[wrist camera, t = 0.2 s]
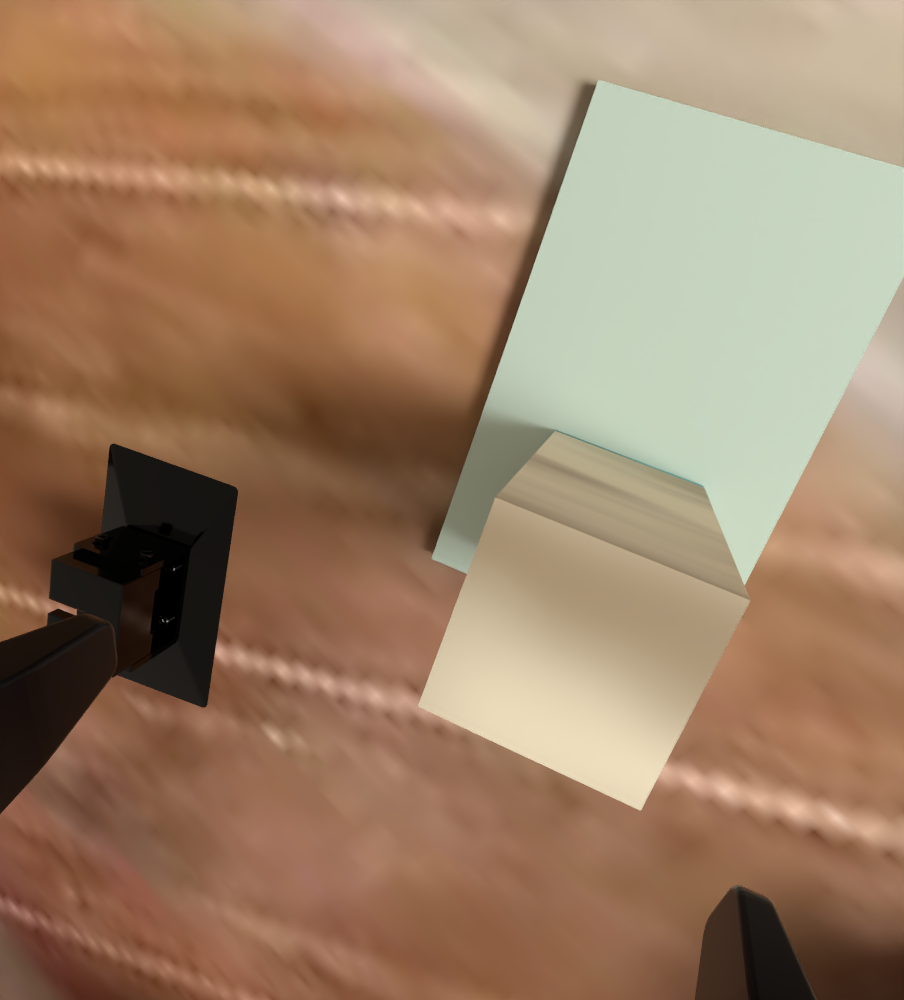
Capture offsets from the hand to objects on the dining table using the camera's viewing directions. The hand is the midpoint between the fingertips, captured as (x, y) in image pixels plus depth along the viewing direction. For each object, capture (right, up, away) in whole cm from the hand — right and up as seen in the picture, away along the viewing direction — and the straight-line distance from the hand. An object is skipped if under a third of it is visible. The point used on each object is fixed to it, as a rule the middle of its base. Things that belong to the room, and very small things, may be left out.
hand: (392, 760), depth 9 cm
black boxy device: (-11, 0, +20) cm, 23 cm away
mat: (+7, +7, +13) cm, 16 cm away
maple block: (+6, +3, +14) cm, 15 cm away
